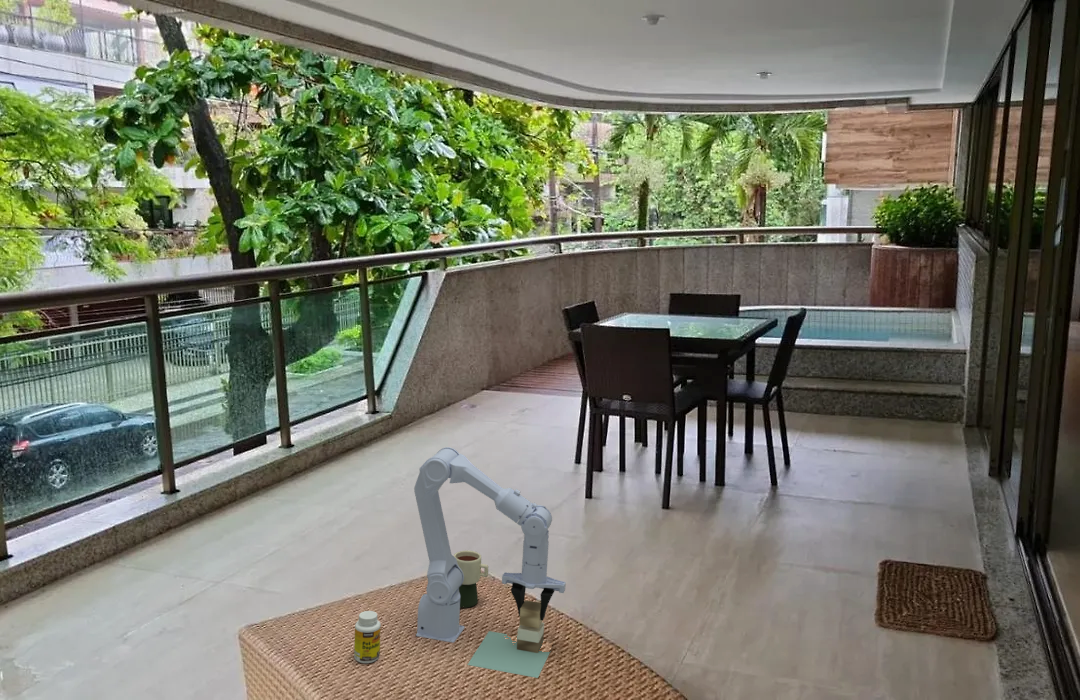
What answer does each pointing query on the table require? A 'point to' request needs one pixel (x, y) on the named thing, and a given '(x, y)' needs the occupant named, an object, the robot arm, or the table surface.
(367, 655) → the supplement bottle
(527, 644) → the walnut block
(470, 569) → the character mug
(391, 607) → the table surface
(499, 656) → the teal board
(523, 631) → the cream block
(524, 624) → the oak block
